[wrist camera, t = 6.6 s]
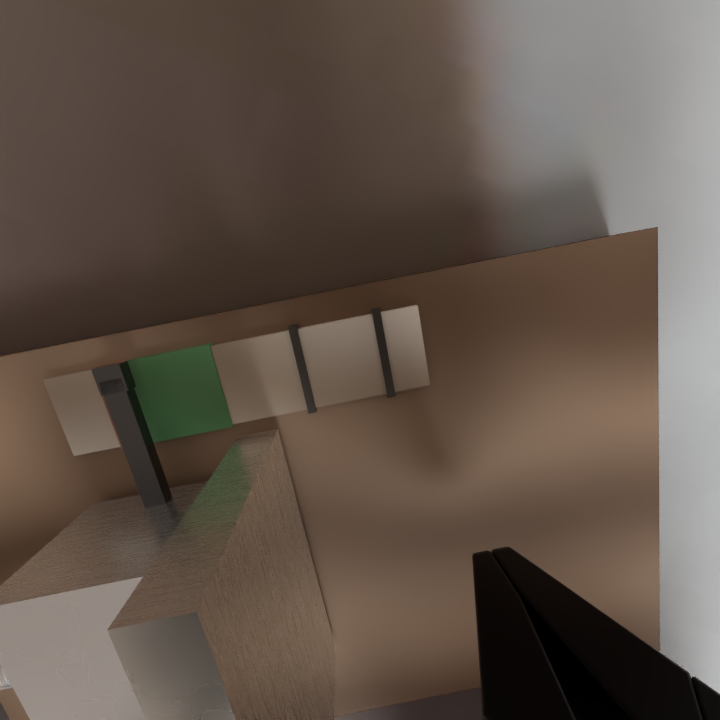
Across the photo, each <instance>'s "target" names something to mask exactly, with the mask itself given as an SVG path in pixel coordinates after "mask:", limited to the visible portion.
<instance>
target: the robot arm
mask: <svg viewBox="0 0 720 720" xmlns="http://www.w3.org/2000/svg"><path fill="white" fill-rule="evenodd" d="M472 564H473V579H474V594H475V609H476V624H477V639H478V654H479V670H480V685H481V700H482V715H483V720H720V694H719V693H717V692H716V691H715V690H713V689H712V688H710V687H709V686H708V685H706V684H705V683H703V682H702V681H700V680H699V679H698V678H696V677H692V678H691V676H690V674H689V672H687V671H686V670H684V669H683V668H682V667H680V666H679V665H677V664H676V663H674V662H673V661H672V660H670V659H669V658H667V657H666V656H665V655H663V654H662V653H660V652H659V651H657V650H656V649H655V648H653V647H652V646H650V645H649V644H647V643H646V642H645V641H643V640H642V639H640V638H639V637H637V636H636V635H635V634H633V633H632V632H630V631H629V630H628V629H626V628H625V627H623V626H622V625H620V624H619V623H618V622H616V621H615V620H613V619H612V618H610V617H609V616H608V615H606V614H605V613H603V612H602V611H600V610H599V609H598V608H596V607H595V606H593V605H592V604H591V603H589V602H588V601H586V600H585V599H583V598H582V597H581V596H579V595H578V594H576V593H575V592H573V591H572V590H571V589H569V588H568V587H566V586H565V585H563V584H562V583H561V582H559V581H558V580H556V579H555V578H554V577H552V576H551V575H549V574H548V573H546V572H545V571H544V570H542V569H541V568H539V567H538V566H536V565H535V564H534V563H532V562H531V561H529V560H528V559H526V558H525V557H524V556H522V555H521V554H519V553H518V552H517V551H515V550H514V549H512V548H511V547H501V548H496V549H493V550H492V551H491V552H490V551H488V550H486V551H482V552H477V553H473V555H472Z"/></svg>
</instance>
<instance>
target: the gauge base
mask: <svg viewBox="0 0 720 720" xmlns="http://www.w3.org/2000/svg"><path fill="white" fill-rule="evenodd" d="M124 361H128V364H129V367H130V370H131V373H132V376H133V379H134V382H135V384H136V387H135V391H136V394H137V397H138V400H139V403H140V405H141V408H142V411H143V414H144V417H145V420H146V423H147V425H148V428H149V431H150V434H151V437H152V440H153V443H154V446H155V448H156V451H157V454H158V457H159V460H160V463H161V466H162V468H163V471H164V474H165V477H166V480H167V483H168V486H169V488H173V487H178V486H183V485H188V484H193V483H198V482H203V481H208V480H209V479H210V477H211V476H212V474H213V473H214V471H215V470H216V468H217V467H218V465H219V464H220V462H221V461H222V460H223V458H224V457H225V455H226V454H227V452H228V451H229V449H230V448H231V446H232V445H233V443H234V442H235V440H236V439H237V437H238V436H243V435H248V434H253V433H258V432H263V431H268V430H273V429H278V431H279V435H280V439H281V442H282V446H283V450H284V454H285V458H286V461H287V465H288V469H289V473H290V477H291V481H292V484H293V488H294V492H295V496H296V500H297V503H298V507H299V511H300V515H301V519H302V522H303V526H304V530H305V534H306V538H307V542H308V545H309V549H310V553H311V557H312V561H313V564H314V568H315V572H316V576H317V580H318V584H319V587H320V591H321V595H322V599H323V603H324V606H325V610H326V614H327V618H328V622H329V626H330V629H331V633H332V637H333V641H334V645H335V648H336V654H335V709H334V717H337V716H342V715H347V714H352V713H356V712H361V711H366V710H371V709H376V708H381V707H386V706H391V705H395V704H400V703H405V702H410V701H415V700H420V699H425V698H430V697H434V696H439V695H444V694H449V693H454V692H459V691H464V690H468V689H473V688H478V687H481V685H480V670H479V654H478V639H477V624H476V609H475V594H474V579H473V564H472V555H473V553H477V552H482V551H486V550H488V551H490V552H491V551H492V550H493V549H496V548H501V547H511V548H512V549H514V550H515V551H517V552H518V553H519V554H521V555H522V556H524V557H525V558H526V559H528V560H529V561H531V562H532V563H534V564H535V565H536V566H538V567H539V568H541V569H542V570H544V571H545V572H546V573H548V574H549V575H551V576H552V577H554V578H555V579H556V580H558V581H559V582H561V583H562V584H563V585H565V586H566V587H568V588H569V589H571V590H572V591H573V592H575V593H576V594H578V595H579V596H581V597H582V598H583V599H585V600H586V601H588V602H589V603H591V604H592V605H593V606H595V607H596V608H598V609H599V610H600V611H602V612H603V613H605V614H606V615H608V616H609V617H610V618H612V619H613V620H615V621H616V622H618V623H619V624H620V625H622V626H623V627H625V628H626V629H628V630H629V631H630V632H632V633H633V634H635V635H636V636H637V637H639V638H640V639H642V640H643V641H645V642H646V643H647V644H649V645H650V646H652V647H653V648H655V649H656V650H657V651H658V650H660V628H659V420H658V227H655V228H650V229H644V230H638V231H633V232H627V233H621V234H616V235H610V236H605V237H600V238H595V239H590V240H585V241H580V242H575V243H570V244H564V245H559V246H554V247H549V248H544V249H539V250H534V251H529V252H524V253H519V254H514V255H509V256H504V257H499V258H494V259H489V260H483V261H478V262H473V263H468V264H463V265H458V266H453V267H448V268H443V269H438V270H433V271H428V272H423V273H418V274H413V275H408V276H402V277H397V278H392V279H387V280H382V281H377V282H372V283H367V284H362V285H357V286H352V287H347V288H342V289H337V290H332V291H327V292H321V293H316V294H311V295H306V296H301V297H296V298H291V299H286V300H281V301H276V302H271V303H266V304H261V305H256V306H251V307H246V308H240V309H235V310H230V311H225V312H220V313H215V314H210V315H205V316H200V317H195V318H190V319H185V320H180V321H175V322H170V323H165V324H160V325H154V326H149V327H144V328H139V329H134V330H129V331H124V332H119V333H114V334H109V335H104V336H99V337H94V338H89V339H84V340H79V341H73V342H68V343H63V344H58V345H53V346H48V347H43V348H38V349H33V350H28V351H23V352H18V353H13V354H8V355H3V356H0V586H1V585H2V584H3V583H4V582H5V581H6V580H7V579H8V578H10V577H11V576H12V575H13V574H14V573H15V572H16V571H17V570H19V569H20V568H21V567H22V566H23V565H24V564H25V563H27V562H28V561H29V560H30V559H31V558H32V557H33V556H34V555H36V554H37V553H38V552H39V551H40V550H41V549H42V548H43V547H45V546H46V545H47V544H48V543H49V542H50V541H51V540H52V539H54V538H55V537H56V536H57V535H58V534H59V533H60V532H61V531H63V530H64V529H65V528H66V527H67V526H68V525H69V524H71V523H72V522H73V521H74V520H75V519H76V518H77V517H78V516H80V515H81V514H82V513H83V512H84V511H85V510H86V509H87V508H89V507H90V506H91V505H92V504H93V503H98V502H103V501H108V500H113V499H118V498H123V497H128V496H133V495H138V494H140V493H139V491H138V488H137V485H136V483H135V480H134V477H133V474H132V472H131V469H130V466H129V464H128V461H127V458H126V456H125V453H124V450H123V448H122V445H121V442H120V440H119V437H118V434H117V431H116V429H115V426H114V423H113V421H112V418H111V415H110V413H109V410H108V407H107V405H106V402H105V399H104V396H101V395H100V392H99V390H98V387H97V384H96V382H95V379H94V376H93V374H92V371H91V369H94V368H97V367H100V366H104V365H109V364H114V363H119V362H124ZM0 720H30V719H29V717H28V715H27V713H26V711H25V709H24V708H23V706H22V704H21V702H20V700H19V698H18V696H17V695H16V693H15V691H14V689H13V688H9V689H4V690H0Z"/></svg>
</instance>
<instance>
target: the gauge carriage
mask: <svg viewBox="0 0 720 720" xmlns="http://www.w3.org/2000/svg"><path fill="white" fill-rule="evenodd" d="M91 371H92V374H93V376H94V379H95V382H96V384H97V387H98V390H99V392H100V395H101V396H104V399H105V402H106V405H107V407H108V410H109V413H110V415H111V418H112V421H113V423H114V426H115V429H116V431H117V434H118V437H119V440H120V442H121V445H122V448H123V450H124V453H125V456H126V458H127V461H128V464H129V466H130V469H131V472H132V474H133V477H134V480H135V483H136V485H137V488H138V491H139V493H140V494H138V495H133V496H128V497H123V498H118V499H113V500H108V501H103V502H98V503H93V504H92V505H91V506H90V507H89V508H87V509H86V510H85V511H84V512H83V513H82V514H81V515H80V516H78V517H77V518H76V519H75V520H74V521H73V522H72V523H71V524H69V525H68V526H67V527H66V528H65V529H64V530H63V531H61V532H60V533H59V534H58V535H57V536H56V537H55V538H54V539H52V540H51V541H50V542H49V543H48V544H47V545H46V546H45V547H43V548H42V549H41V550H40V551H39V552H38V553H37V554H36V555H34V556H33V557H32V558H31V559H30V560H29V561H28V562H27V563H25V564H24V565H23V566H22V567H21V568H20V569H19V570H17V571H16V572H15V573H14V574H13V575H12V576H11V577H10V578H8V579H7V580H6V581H5V582H4V583H3V584H2V585H1V586H0V690H4V689H9V688H13V689H14V691H15V693H16V695H17V696H18V698H19V700H20V702H21V704H22V706H23V708H24V709H25V711H26V713H27V715H28V717H29V719H30V720H334V709H335V654H336V648H335V645H334V641H333V637H332V633H331V629H330V626H329V622H328V618H327V614H326V610H325V606H324V603H323V599H322V595H321V591H320V587H319V584H318V580H317V576H316V572H315V568H314V564H313V561H312V557H311V553H310V549H309V545H308V542H307V538H306V534H305V530H304V526H303V522H302V519H301V515H300V511H299V507H298V503H297V500H296V496H295V492H294V488H293V484H292V481H291V477H290V473H289V469H288V465H287V461H286V458H285V454H284V450H283V446H282V442H281V439H280V435H279V431H278V429H273V430H268V431H263V432H258V433H253V434H248V435H243V436H238V437H237V439H236V440H235V442H234V443H233V445H232V446H231V448H230V449H229V451H228V452H227V454H226V455H225V457H224V458H223V460H222V461H221V462H220V464H219V465H218V467H217V468H216V470H215V471H214V473H213V474H212V476H211V477H210V479H209V480H208V481H203V482H198V483H193V484H188V485H183V486H178V487H173V488H169V486H168V483H167V480H166V477H165V474H164V471H163V468H162V466H161V463H160V460H159V457H158V454H157V451H156V448H155V446H154V443H153V440H152V437H151V434H150V431H149V428H148V425H147V423H146V420H145V417H144V414H143V411H142V408H141V405H140V403H139V400H138V397H137V394H136V391H135V387H136V384H135V382H134V379H133V376H132V373H131V370H130V367H129V364H128V361H124V362H119V363H114V364H109V365H104V366H100V367H97V368H94V369H91Z"/></svg>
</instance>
